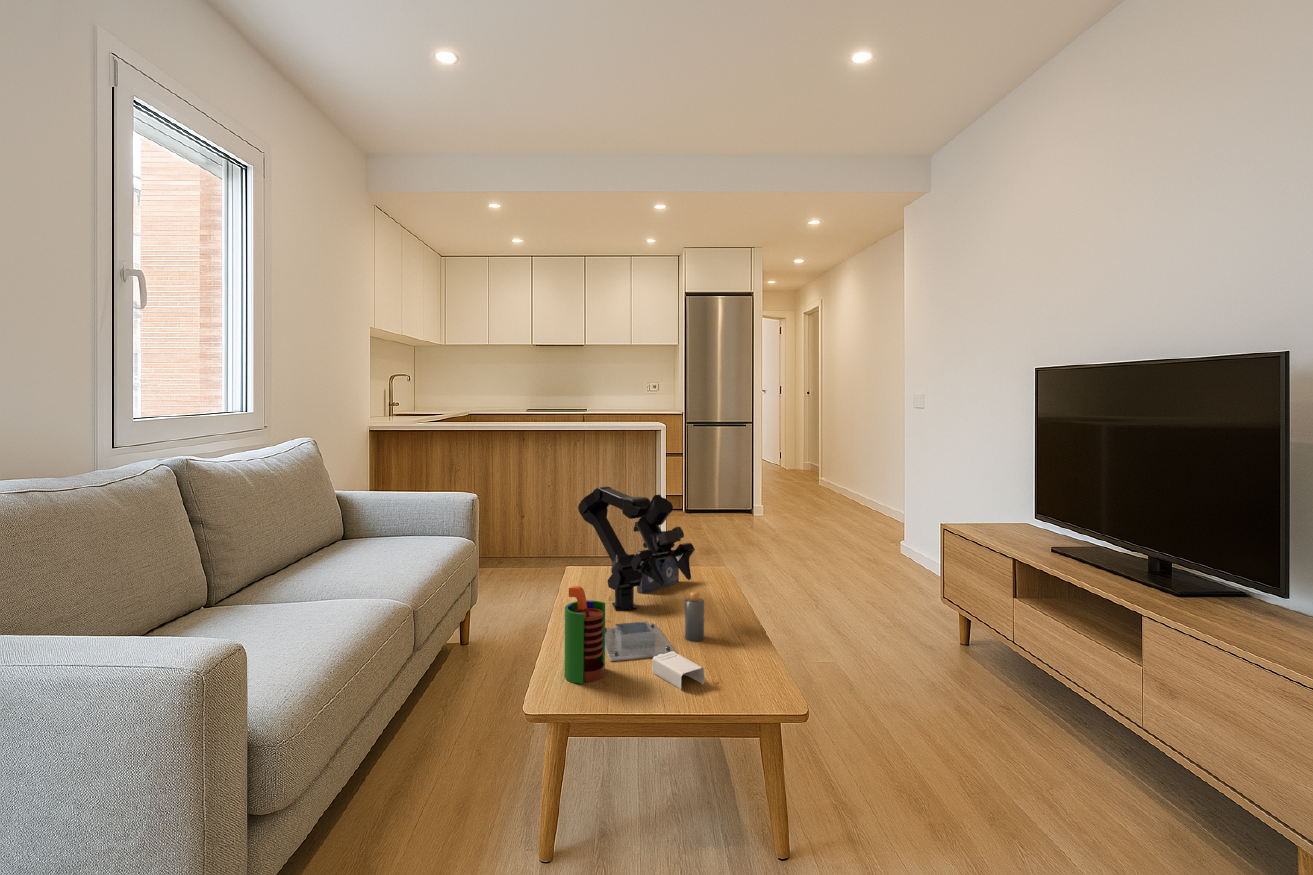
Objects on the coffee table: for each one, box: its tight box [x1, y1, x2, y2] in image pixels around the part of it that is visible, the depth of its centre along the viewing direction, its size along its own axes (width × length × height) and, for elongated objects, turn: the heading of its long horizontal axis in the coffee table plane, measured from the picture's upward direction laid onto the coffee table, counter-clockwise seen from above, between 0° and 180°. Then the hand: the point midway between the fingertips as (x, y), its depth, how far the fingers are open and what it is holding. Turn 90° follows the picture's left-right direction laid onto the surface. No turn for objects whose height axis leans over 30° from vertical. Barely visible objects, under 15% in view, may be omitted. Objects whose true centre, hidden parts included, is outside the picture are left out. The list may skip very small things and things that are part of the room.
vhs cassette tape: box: [636, 557, 680, 595], centre depth 219 cm, size 18×3×10 cm, turn 136°
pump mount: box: [605, 621, 676, 662], centre depth 169 cm, size 20×16×4 cm
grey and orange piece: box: [684, 591, 705, 643], centre depth 172 cm, size 5×5×12 cm
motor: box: [563, 585, 606, 685], centre depth 149 cm, size 10×9×20 cm
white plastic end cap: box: [651, 651, 705, 690], centre depth 148 cm, size 6×13×4 cm, turn 35°
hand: (676, 582), depth 178 cm, fingers open, 9 cm apart
